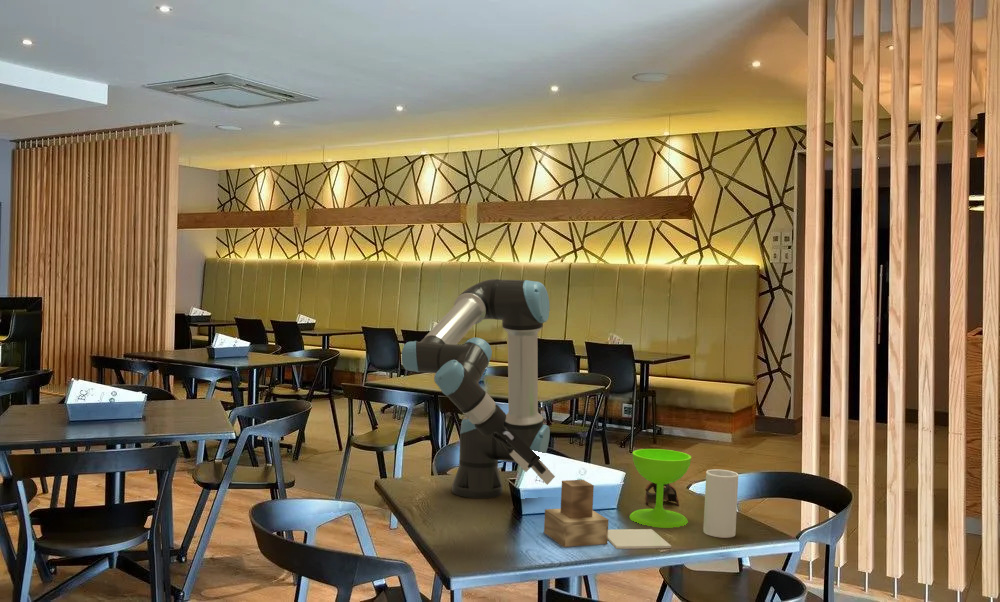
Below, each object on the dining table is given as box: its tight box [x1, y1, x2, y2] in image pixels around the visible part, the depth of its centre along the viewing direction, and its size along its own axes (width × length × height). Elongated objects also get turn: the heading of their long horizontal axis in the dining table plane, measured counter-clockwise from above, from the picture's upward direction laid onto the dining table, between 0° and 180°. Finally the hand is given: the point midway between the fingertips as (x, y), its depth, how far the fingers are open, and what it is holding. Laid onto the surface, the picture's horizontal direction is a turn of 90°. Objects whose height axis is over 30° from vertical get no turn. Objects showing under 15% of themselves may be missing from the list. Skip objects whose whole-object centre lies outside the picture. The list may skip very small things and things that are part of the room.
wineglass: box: [628, 448, 692, 529], centre depth 243 cm, size 16×16×18 cm
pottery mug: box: [644, 482, 680, 507], centre depth 261 cm, size 12×10×8 cm
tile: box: [607, 528, 672, 550], centre depth 223 cm, size 14×14×1 cm
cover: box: [543, 479, 609, 548], centre depth 222 cm, size 12×12×14 cm
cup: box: [702, 468, 739, 539], centre depth 232 cm, size 8×8×16 cm
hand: (539, 474), depth 218 cm, fingers open, 13 cm apart
